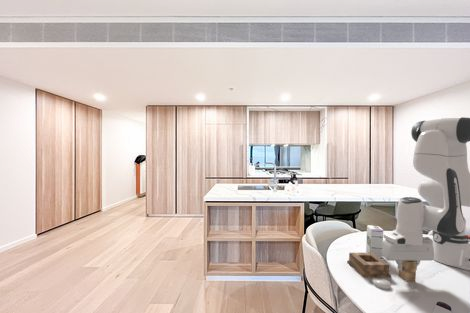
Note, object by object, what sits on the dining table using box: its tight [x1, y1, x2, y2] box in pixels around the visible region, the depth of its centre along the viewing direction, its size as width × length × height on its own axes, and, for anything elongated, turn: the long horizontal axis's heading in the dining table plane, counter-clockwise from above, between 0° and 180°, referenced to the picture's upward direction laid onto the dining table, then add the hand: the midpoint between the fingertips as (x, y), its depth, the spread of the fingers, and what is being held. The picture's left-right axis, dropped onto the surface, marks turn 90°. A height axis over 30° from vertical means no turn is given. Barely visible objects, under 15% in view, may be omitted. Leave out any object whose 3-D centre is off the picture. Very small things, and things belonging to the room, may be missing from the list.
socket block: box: [347, 252, 392, 278], centre depth 98 cm, size 12×12×5 cm
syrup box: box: [365, 224, 384, 260], centre depth 112 cm, size 6×6×14 cm
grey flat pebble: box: [371, 277, 391, 290], centre depth 87 cm, size 6×6×2 cm
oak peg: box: [397, 261, 417, 282], centre depth 92 cm, size 4×4×8 cm
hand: (407, 269), depth 92 cm, fingers closed on oak peg, 4 cm apart
